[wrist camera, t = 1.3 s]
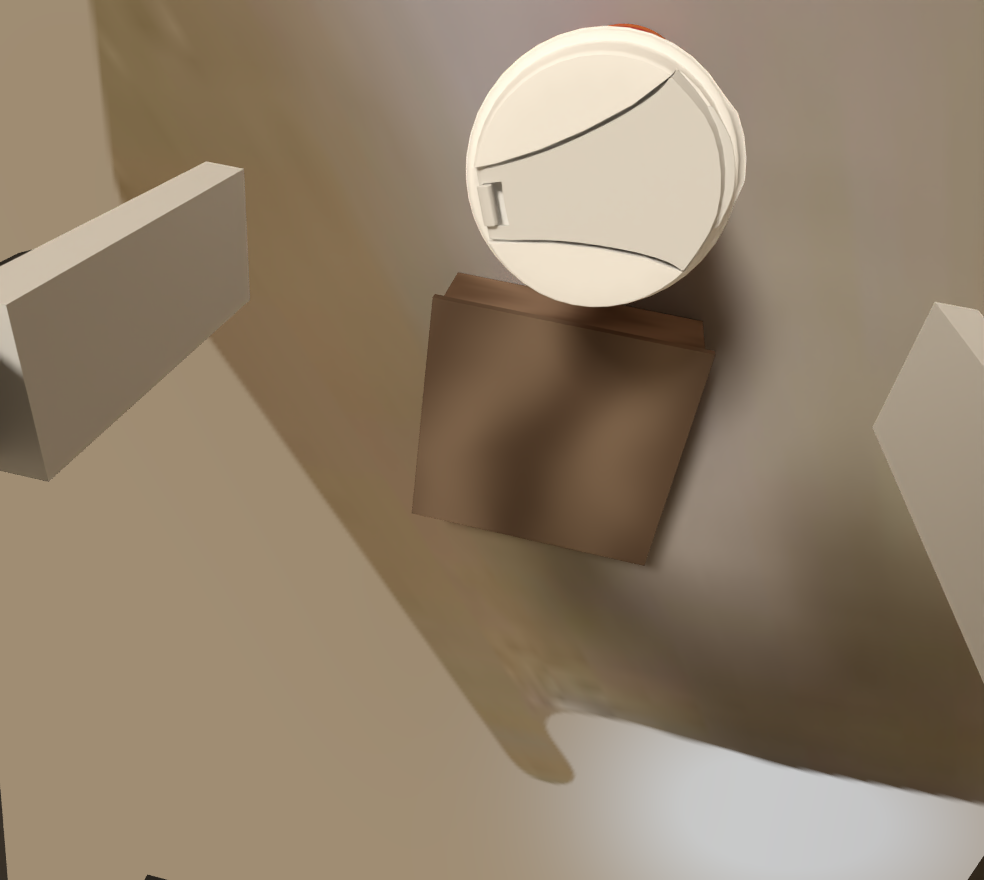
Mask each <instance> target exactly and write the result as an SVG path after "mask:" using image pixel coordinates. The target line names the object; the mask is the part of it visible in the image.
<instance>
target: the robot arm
mask: <svg viewBox="0 0 984 880" xmlns="http://www.w3.org/2000/svg"><path fill="white" fill-rule="evenodd" d="M249 300H250V290H249V269H248V248H247V226H246V205H245V183H244V169H242V168H237V167H232V166H226V165H221V164H216V163H211V162H204V163H202V164H201V165H199V166H197V167H195V168H193V169H191V170H189V171H187V172H185V173H183V174H181V175H179V176H177V177H175V178H173V179H171V180H169V181H167V182H165V183H163V184H161V185H159V186H157V187H155V188H153V189H151V190H149V191H147V192H145V193H143V194H142V195H140V196H138V197H136V198H134V199H132V200H130V201H128V202H126V203H124V204H122V205H120V206H118V207H116V208H114V209H112V210H110V211H108V212H106V213H104V214H102V215H100V216H98V217H96V218H94V219H92V220H90V221H88V222H86V223H85V224H83V225H81V226H79V227H77V228H75V229H73V230H71V231H69V232H67V233H65V234H63V235H61V236H59V237H57V238H55V239H53V240H51V241H49V242H47V243H45V244H43V245H41V246H39V247H37V248H36V249H33V250H29V251H25V252H21V253H18V254H16V255H14V256H12V257H10V258H8V259H6V260H4V261H2V262H0V471H4V472H8V473H13V474H17V475H22V476H26V477H30V478H35V479H39V480H43V481H48V482H49V481H50V480H51V479H52V478H53V477H54V476H55V475H56V474H58V473H59V472H60V471H61V470H62V469H63V468H64V467H65V466H66V465H68V464H69V463H70V462H71V461H72V460H73V459H74V458H75V457H76V456H78V455H79V453H81V452H82V451H83V450H84V449H85V448H86V447H87V446H88V445H90V444H91V443H92V442H93V441H94V440H95V439H96V438H97V437H99V435H101V434H102V433H103V432H104V431H105V430H106V429H107V428H108V427H110V426H111V425H112V424H113V423H114V422H115V421H116V420H117V419H118V418H119V417H121V416H122V415H123V414H124V413H125V412H126V411H127V410H128V409H130V408H131V407H132V406H133V405H134V404H135V403H136V402H137V401H138V400H140V399H141V398H142V397H143V396H144V395H145V394H146V393H147V392H148V391H149V390H151V389H152V388H153V387H154V386H155V385H156V384H157V383H158V382H159V381H161V380H162V379H163V378H164V377H165V376H166V375H167V374H168V373H169V372H170V371H172V370H173V369H174V368H175V367H176V366H177V365H178V364H179V363H181V362H182V361H183V360H184V359H185V358H186V357H187V356H188V355H189V354H190V353H192V352H193V351H194V350H195V349H196V348H197V347H198V346H199V345H201V344H202V343H203V342H204V341H205V340H206V339H207V338H208V337H209V336H210V335H212V334H213V333H214V332H215V331H216V330H217V329H218V328H219V327H220V326H222V325H223V324H224V323H225V322H226V321H227V320H228V319H229V318H230V317H232V316H233V315H234V314H235V313H236V312H237V311H238V310H239V309H240V308H242V307H243V306H244V305H245V304H246V303H247V302H248V301H249ZM872 428H873V430H874V432H875V434H876V437H877V439H878V441H879V444H880V446H881V448H882V451H883V453H884V455H885V457H886V460H887V462H888V464H889V467H890V469H891V471H892V474H893V476H894V478H895V480H896V483H897V485H898V487H899V490H900V492H901V494H902V497H903V499H904V501H905V503H906V506H907V508H908V510H909V513H910V515H911V517H912V520H913V522H914V524H915V527H916V529H917V531H918V533H919V536H920V538H921V540H922V543H923V545H924V547H925V550H926V552H927V554H928V556H929V559H930V561H931V563H932V566H933V568H934V570H935V573H936V575H937V577H938V579H939V582H940V584H941V586H942V589H943V591H944V593H945V596H946V598H947V600H948V603H949V605H950V607H951V609H952V612H953V614H954V616H955V619H956V621H957V623H958V626H959V628H960V630H961V632H962V635H963V637H964V639H965V642H966V644H967V646H968V649H969V651H970V653H971V655H972V658H973V660H974V662H975V665H976V667H977V669H978V672H979V674H980V676H981V679H982V681H983V683H984V317H983V315H982V314H981V313H980V312H979V311H978V310H976V309H970V308H965V307H960V306H955V305H950V304H944V303H939V302H934V304H933V306H932V308H931V310H930V312H929V314H928V316H927V318H926V320H925V322H924V324H923V326H922V328H921V330H920V332H919V334H918V336H917V338H916V340H915V342H914V345H913V347H912V349H911V351H910V353H909V355H908V357H907V359H906V361H905V363H904V365H903V367H902V369H901V371H900V373H899V375H898V377H897V379H896V381H895V383H894V385H893V387H892V389H891V391H890V393H889V395H888V397H887V399H886V401H885V403H884V405H883V407H882V409H881V411H880V413H879V415H878V417H877V419H876V421H875V423H874V425H873V427H872ZM0 880H8V878H7V866H6V853H5V841H4V829H3V816H2V805H1V792H0ZM145 880H165V879H162V878H158V877H155V876H151V875H147V876H146V878H145ZM968 880H984V856H983V858H982V859H981V861H980V862H979V864H978V865H977V867H976V868H975V870H974V871H973V873H972V874H971V876H970V877H969V879H968Z"/></svg>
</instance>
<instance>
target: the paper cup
mask: <svg viewBox="0 0 984 880" xmlns="http://www.w3.org/2000/svg"><path fill="white" fill-rule="evenodd" d="M745 171H746V150H745V140H744V133H743V130H742V126H741V122H740V118H739V115H738V112H737V111H736V109H735V108H734V107H733V106H732V104H731V103H730V102H729V100H728V99H727V98H726V96H725V95H724V94H723V92H722V91H721V89H720V88H719V87H718V85H717V84H716V82H715V81H714V79H713V78H712V76H711V75H710V74H709V72H708V71H707V70H706V69H705V68H704V67H703V66H702V65H701V64H700V63H699V62H698V61H697V60H696V59H695V58H694V57H693V56H691V55H690V54H688V53H687V52H685V51H684V50H683V49H681V48H680V47H678V46H677V45H675V44H674V43H672V42H670V41H668V40H666V39H665V38H663V37H662V36H661V35H659V34H658V33H656V32H654V31H652V30H650V29H648V28H645V27H642V26H638V25H633V24H615V25H609V26H599V27H589V28H581V29H578V30H574V31H570V32H567V33H563V34H560V35H558V36H555V37H553V38H551V39H549V40H547V41H545V42H543V43H541V44H539V45H537V46H536V47H534V48H533V49H531V50H530V51H528V52H527V53H526V54H524V55H523V56H521V57H520V58H519V59H517V60H516V61H515V62H514V63H513V64H512V65H511V66H510V67H509V68H508V69H507V70H506V71H505V72H504V73H503V74H502V75H501V77H500V78H499V79H498V81H497V82H496V83H495V85H494V86H493V87H492V89H491V90H490V91H489V93H488V94H487V96H486V98H485V100H484V102H483V104H482V106H481V108H480V110H479V111H478V113H477V116H476V119H475V122H474V125H473V128H472V131H471V134H470V139H469V145H468V150H467V156H466V182H467V190H468V198H469V202H470V205H471V209H472V212H473V216H474V219H475V221H476V223H477V226H478V228H479V230H480V232H481V235H482V237H483V238H484V240H485V241H486V243H487V245H488V246H489V248H490V249H491V251H492V252H493V254H494V255H495V256H496V257H497V258H498V259H499V261H500V262H501V263H502V264H503V265H504V266H505V268H507V269H508V270H509V271H510V272H511V273H512V274H513V275H514V276H515V277H517V278H518V279H519V280H520V281H521V282H522V283H524V284H525V285H527V286H528V287H530V288H532V289H533V290H535V291H536V292H538V293H540V294H542V295H544V296H547V297H549V298H551V299H554V300H556V301H560V302H564V303H567V304H571V305H577V306H585V307H610V306H616V305H621V304H627V303H630V302H634V301H637V300H640V299H643V298H646V297H649V296H652V295H654V294H656V293H658V292H660V291H662V290H664V289H666V288H668V287H670V286H671V285H673V284H674V283H676V282H677V281H679V280H680V279H681V278H683V277H684V276H686V275H687V274H688V273H689V272H690V271H691V270H692V269H694V268H695V267H696V266H697V265H698V264H699V263H700V262H701V261H702V260H703V259H704V257H705V256H706V255H707V254H708V252H709V251H710V250H711V249H712V247H713V246H714V245H715V244H716V242H717V240H718V239H719V237H720V235H721V233H722V232H723V230H724V228H725V226H726V225H727V222H728V220H729V217H730V214H731V212H732V209H733V207H734V204H735V202H736V200H737V197H738V195H739V193H740V191H741V189H742V186H743V184H744V182H745Z"/></svg>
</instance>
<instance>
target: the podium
mask: <svg viewBox="0 0 984 880" xmlns="http://www.w3.org/2000/svg"><path fill="white" fill-rule="evenodd" d="M714 357H715V351H713V350H708V349H705V342H704V332H703V322H702V321H698V320H693V319H688V318H683V317H678V316H673V315H668V314H663V313H658V312H653V311H648V310H643V309H638V308H633V307H628V306H623V305H616V306H610V307H585V306H577V305H571V304H567V303H564V302H560V301H556V300H554V299H551V298H549V297H547V296H544V295H542V294H540V293H538V292H536V291H535V290H533V289H532V288H530V287H528V286H523V285H518V284H513V283H508V282H503V281H498V280H493V279H488V278H483V277H478V276H473V275H468V274H463V273H457V275H456V277H455V278H454V280H453V282H452V283H451V285H450V287H449V289H448V290H447V292H446V294H445V295H444V296H442V295H437V294H435V295H434V296H433V300H432V310H431V321H430V331H429V341H428V351H427V362H426V372H425V382H424V393H423V403H422V413H421V423H420V434H419V444H418V454H417V465H416V475H415V485H414V495H413V506H412V513H413V514H417V515H422V516H426V517H431V518H435V519H440V520H444V521H448V522H453V523H457V524H462V525H466V526H471V527H475V528H479V529H484V530H488V531H493V532H497V533H502V534H506V535H510V536H515V537H519V538H524V539H528V540H533V541H537V542H541V543H546V544H550V545H555V546H559V547H564V548H568V549H572V550H577V551H581V552H586V553H590V554H595V555H599V556H603V557H608V558H612V559H617V560H621V561H626V562H630V563H634V564H639V565H643V566H644V565H645V562H646V559H647V556H648V553H649V550H650V547H651V544H652V541H653V538H654V535H655V532H656V529H657V526H658V523H659V520H660V517H661V515H662V512H663V509H664V506H665V503H666V500H667V497H668V494H669V491H670V488H671V485H672V482H673V479H674V476H675V473H676V470H677V467H678V464H679V461H680V458H681V455H682V452H683V449H684V446H685V443H686V440H687V437H688V434H689V431H690V428H691V426H692V423H693V420H694V417H695V414H696V411H697V408H698V405H699V402H700V399H701V396H702V393H703V390H704V387H705V384H706V381H707V378H708V375H709V372H710V369H711V366H712V363H713V360H714Z"/></svg>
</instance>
